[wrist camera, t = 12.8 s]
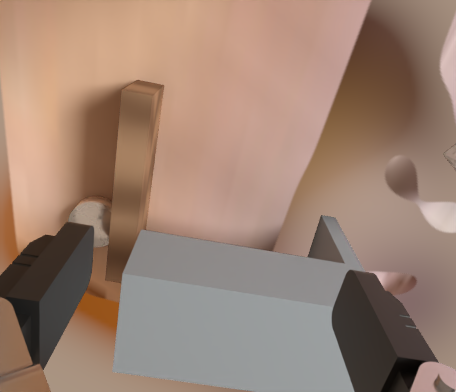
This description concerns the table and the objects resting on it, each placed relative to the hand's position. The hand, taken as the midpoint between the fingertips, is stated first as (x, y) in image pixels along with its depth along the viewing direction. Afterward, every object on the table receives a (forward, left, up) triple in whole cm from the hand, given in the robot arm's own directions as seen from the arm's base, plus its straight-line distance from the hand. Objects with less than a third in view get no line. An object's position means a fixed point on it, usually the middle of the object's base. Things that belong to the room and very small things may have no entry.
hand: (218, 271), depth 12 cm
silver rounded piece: (+14, -11, -26) cm, 32 cm away
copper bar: (+8, -7, -26) cm, 28 cm away
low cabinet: (+14, +4, -26) cm, 30 cm away
